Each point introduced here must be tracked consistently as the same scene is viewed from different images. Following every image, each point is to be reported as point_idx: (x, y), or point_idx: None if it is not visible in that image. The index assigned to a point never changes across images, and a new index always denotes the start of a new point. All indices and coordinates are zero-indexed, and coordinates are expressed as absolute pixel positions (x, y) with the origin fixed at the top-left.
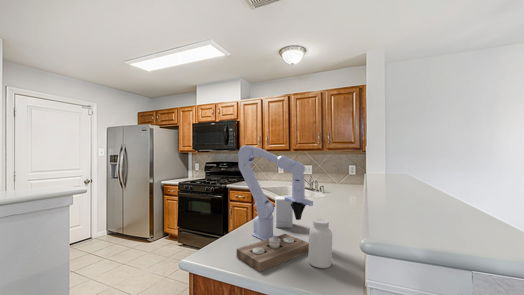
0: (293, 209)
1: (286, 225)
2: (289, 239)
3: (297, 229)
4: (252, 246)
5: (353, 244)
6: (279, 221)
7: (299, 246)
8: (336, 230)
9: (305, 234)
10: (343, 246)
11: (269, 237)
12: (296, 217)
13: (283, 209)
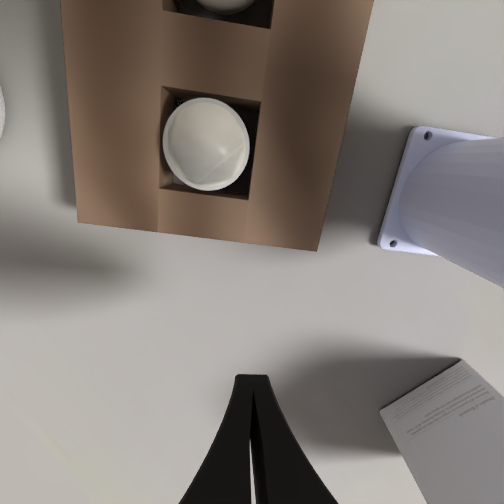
0: (307, 486)
1: (415, 403)
2: (207, 156)
3: (343, 409)
4: None
5: (28, 419)
6: (473, 401)
7: (79, 110)
8: None
9: None
10: (38, 373)
11: (406, 182)
12: (253, 391)
13: None
